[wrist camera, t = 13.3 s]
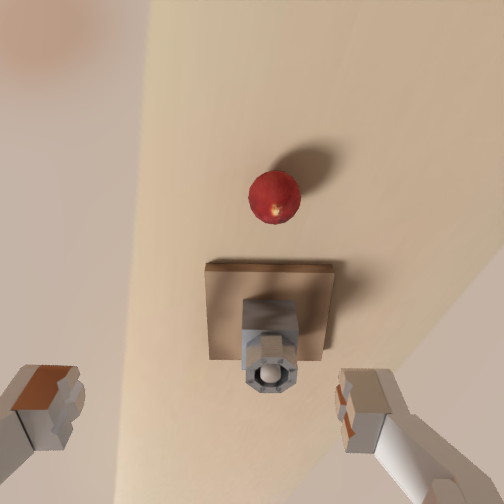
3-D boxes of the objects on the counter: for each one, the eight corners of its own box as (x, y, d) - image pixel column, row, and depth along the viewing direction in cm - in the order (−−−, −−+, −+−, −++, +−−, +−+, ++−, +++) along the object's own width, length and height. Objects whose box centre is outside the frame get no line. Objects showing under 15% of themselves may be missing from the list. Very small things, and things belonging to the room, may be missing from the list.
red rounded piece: (300, 202, 45) (309, 232, 38) (255, 213, 46) (256, 244, 39) (292, 157, 42) (300, 180, 35) (243, 168, 43) (242, 193, 36)
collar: (295, 333, 45) (298, 357, 42) (291, 367, 48) (294, 393, 45) (246, 332, 45) (246, 357, 42) (246, 367, 48) (245, 392, 45)
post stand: (332, 265, 50) (353, 324, 39) (319, 351, 58) (334, 419, 47) (206, 263, 49) (194, 322, 39) (210, 350, 58) (201, 418, 47)
